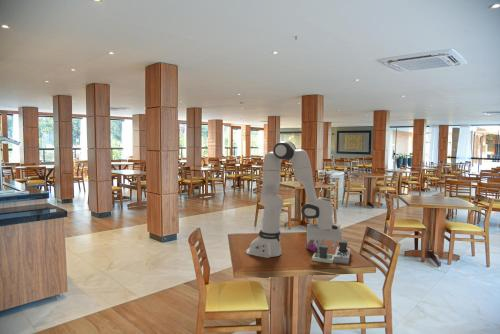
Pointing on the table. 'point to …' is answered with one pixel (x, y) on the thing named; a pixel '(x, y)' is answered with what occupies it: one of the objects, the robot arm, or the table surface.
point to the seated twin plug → (343, 246)
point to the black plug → (323, 251)
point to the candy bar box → (312, 243)
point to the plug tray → (317, 258)
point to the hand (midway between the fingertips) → (325, 247)
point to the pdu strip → (342, 256)
